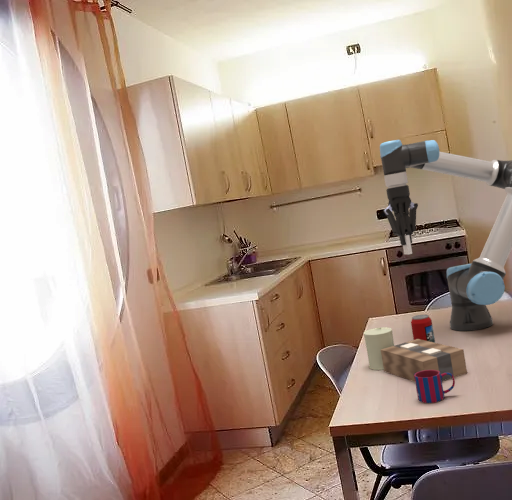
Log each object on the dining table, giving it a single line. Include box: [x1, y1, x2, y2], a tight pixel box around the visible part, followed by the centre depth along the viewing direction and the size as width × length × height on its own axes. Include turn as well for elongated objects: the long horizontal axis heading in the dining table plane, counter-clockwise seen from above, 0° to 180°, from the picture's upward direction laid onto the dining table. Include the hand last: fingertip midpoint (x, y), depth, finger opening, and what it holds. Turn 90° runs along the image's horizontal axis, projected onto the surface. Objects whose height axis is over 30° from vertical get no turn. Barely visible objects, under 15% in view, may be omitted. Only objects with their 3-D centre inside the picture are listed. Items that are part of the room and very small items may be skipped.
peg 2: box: [422, 348, 441, 356], centre depth 181 cm, size 4×4×7 cm
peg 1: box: [400, 343, 419, 350], centre depth 191 cm, size 4×4×7 cm
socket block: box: [381, 339, 468, 383], centre depth 186 cm, size 22×14×7 cm, turn 21°
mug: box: [414, 370, 456, 404], centre depth 162 cm, size 7×10×7 cm
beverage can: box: [410, 314, 436, 343], centre depth 207 cm, size 7×7×12 cm
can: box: [363, 326, 395, 371], centre depth 200 cm, size 9×9×12 cm
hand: (408, 253), depth 214 cm, fingers closed
